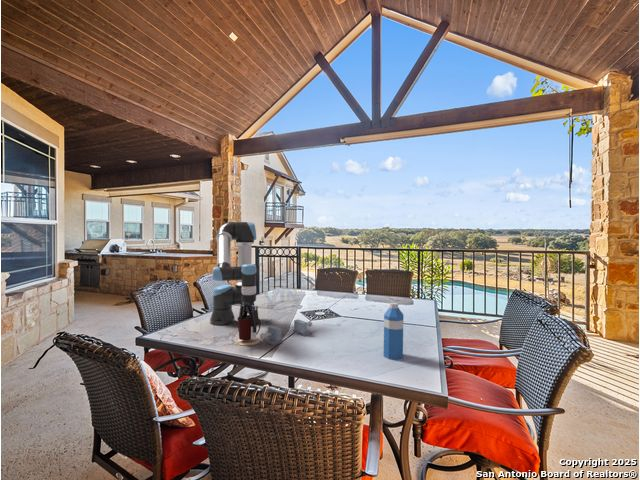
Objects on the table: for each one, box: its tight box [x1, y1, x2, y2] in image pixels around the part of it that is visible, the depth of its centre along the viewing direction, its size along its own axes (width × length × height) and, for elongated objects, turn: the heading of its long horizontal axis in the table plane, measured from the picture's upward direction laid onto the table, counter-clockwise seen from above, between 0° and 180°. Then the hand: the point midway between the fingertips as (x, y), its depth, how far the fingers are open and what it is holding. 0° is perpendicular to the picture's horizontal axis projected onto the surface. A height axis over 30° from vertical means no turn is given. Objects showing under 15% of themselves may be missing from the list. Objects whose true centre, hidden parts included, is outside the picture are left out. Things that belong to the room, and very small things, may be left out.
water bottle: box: [383, 302, 404, 361], centre depth 141 cm, size 9×9×25 cm
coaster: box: [236, 337, 261, 347], centre depth 158 cm, size 12×12×1 cm
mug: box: [237, 314, 262, 340], centre depth 158 cm, size 12×9×11 cm
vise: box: [259, 318, 313, 346], centre depth 166 cm, size 10×34×7 cm, turn 134°
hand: (248, 335), depth 158 cm, fingers closed on mug, 9 cm apart
